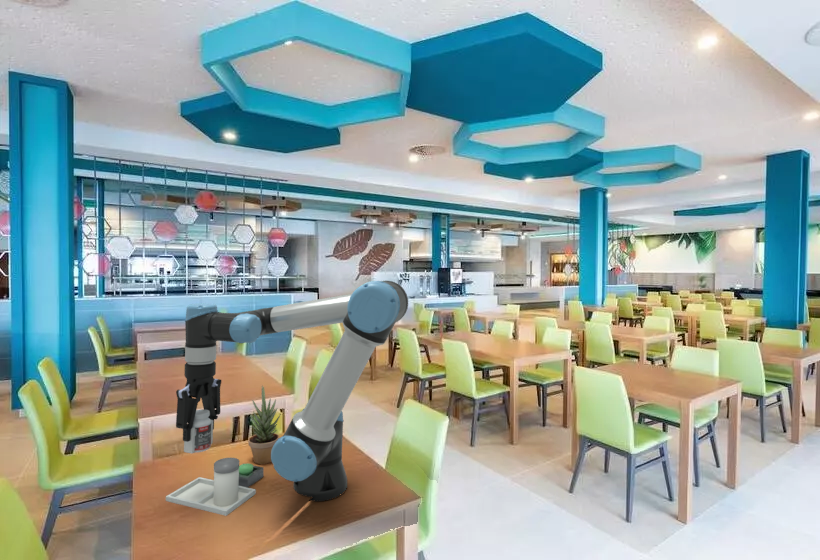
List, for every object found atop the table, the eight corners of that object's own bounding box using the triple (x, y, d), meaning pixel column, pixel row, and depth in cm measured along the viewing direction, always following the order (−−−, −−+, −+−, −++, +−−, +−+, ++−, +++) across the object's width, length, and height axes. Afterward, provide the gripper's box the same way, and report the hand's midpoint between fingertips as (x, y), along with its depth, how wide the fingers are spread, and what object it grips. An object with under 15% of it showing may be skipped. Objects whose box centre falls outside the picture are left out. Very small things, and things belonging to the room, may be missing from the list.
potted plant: (254, 453, 147) (256, 380, 147) (282, 454, 147) (284, 381, 146) (242, 466, 137) (244, 388, 137) (272, 467, 137) (274, 389, 136)
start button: (255, 471, 128) (256, 464, 127) (246, 477, 124) (246, 470, 124) (244, 469, 129) (244, 462, 129) (235, 475, 125) (235, 468, 125)
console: (263, 480, 129) (263, 467, 128) (247, 492, 122) (247, 478, 122) (243, 476, 131) (243, 463, 131) (226, 487, 124) (227, 473, 124)
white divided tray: (258, 497, 120) (259, 488, 120) (225, 522, 107) (225, 513, 107) (199, 483, 126) (200, 475, 126) (161, 506, 113) (161, 497, 113)
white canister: (243, 496, 117) (244, 459, 117) (227, 508, 111) (228, 469, 111) (224, 492, 119) (225, 456, 119) (207, 503, 113) (208, 465, 113)
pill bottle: (201, 454, 114) (202, 416, 114) (182, 451, 115) (182, 414, 115) (215, 445, 120) (216, 409, 119) (197, 443, 121) (197, 407, 121)
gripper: (214, 354, 127) (212, 433, 128) (159, 367, 109) (157, 459, 110) (236, 356, 125) (234, 437, 125) (183, 370, 107) (181, 464, 107)
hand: (198, 447), depth 118 cm, fingers closed on pill bottle, 6 cm apart
